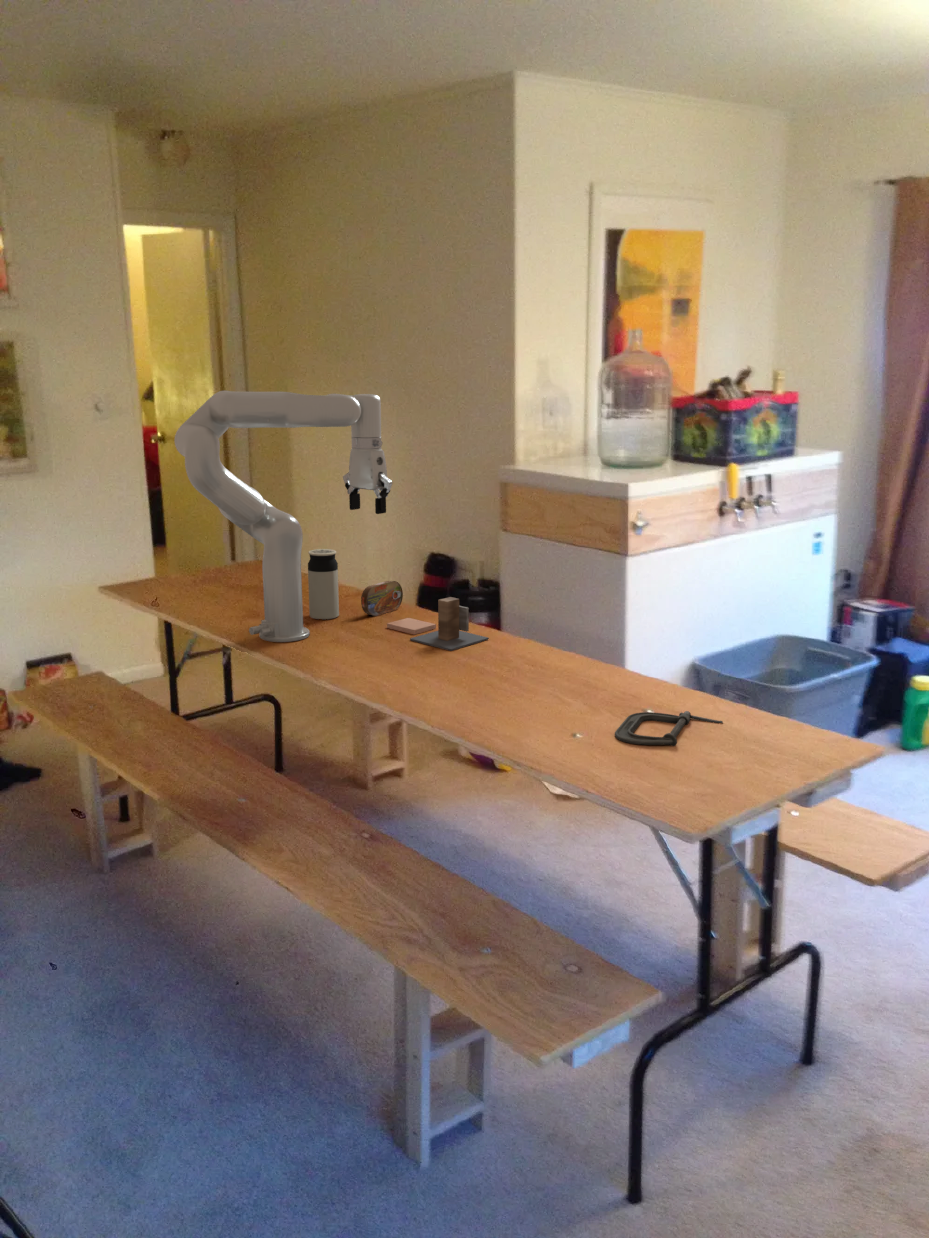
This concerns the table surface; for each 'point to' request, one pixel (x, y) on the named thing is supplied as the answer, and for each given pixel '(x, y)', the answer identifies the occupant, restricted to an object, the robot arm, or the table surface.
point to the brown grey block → (451, 618)
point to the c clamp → (634, 720)
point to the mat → (450, 645)
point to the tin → (381, 598)
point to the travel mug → (323, 584)
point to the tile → (411, 626)
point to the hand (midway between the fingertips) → (367, 511)
